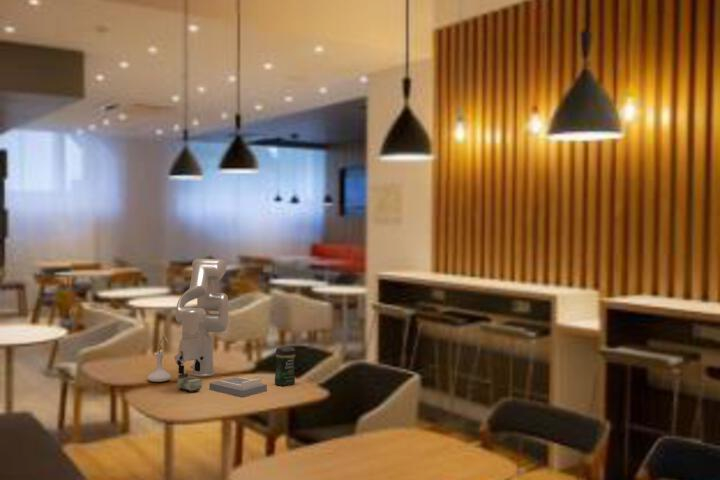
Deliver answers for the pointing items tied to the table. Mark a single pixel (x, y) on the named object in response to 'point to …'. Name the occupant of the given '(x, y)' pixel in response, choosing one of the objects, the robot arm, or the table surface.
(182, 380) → the cart
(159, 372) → the flower in vase
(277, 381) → the coffee jar
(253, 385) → the dock
